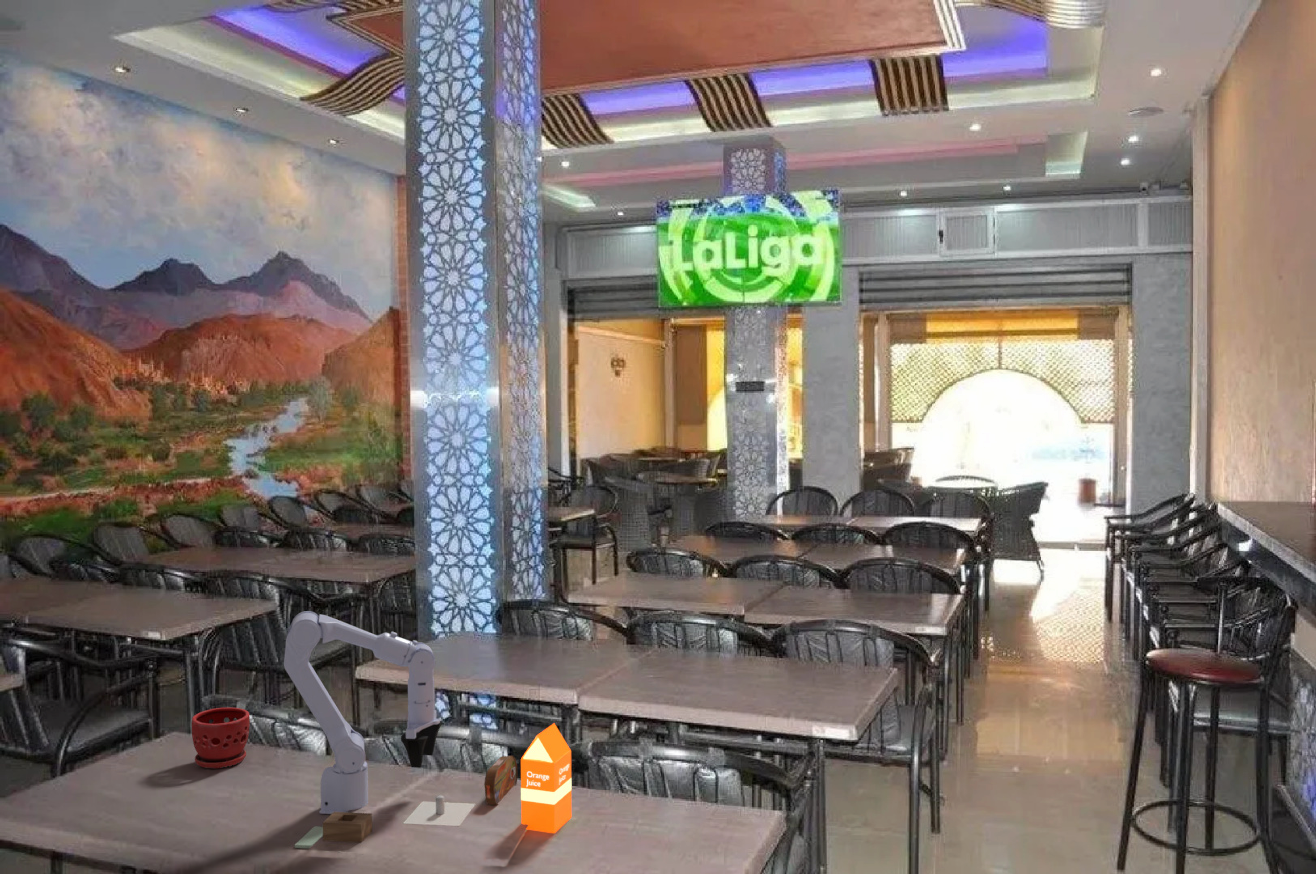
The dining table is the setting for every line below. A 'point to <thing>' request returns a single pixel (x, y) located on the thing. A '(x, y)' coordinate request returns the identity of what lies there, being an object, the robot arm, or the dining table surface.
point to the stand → (439, 813)
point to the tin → (500, 779)
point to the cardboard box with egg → (347, 827)
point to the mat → (310, 838)
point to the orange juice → (546, 782)
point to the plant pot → (220, 737)
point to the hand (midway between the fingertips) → (422, 760)
